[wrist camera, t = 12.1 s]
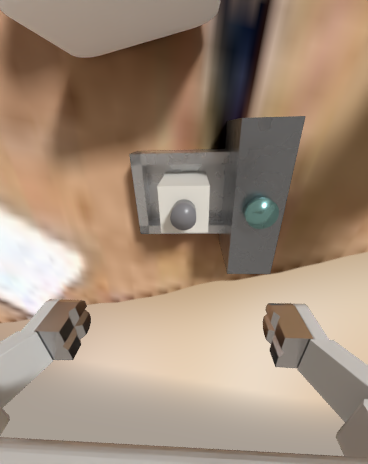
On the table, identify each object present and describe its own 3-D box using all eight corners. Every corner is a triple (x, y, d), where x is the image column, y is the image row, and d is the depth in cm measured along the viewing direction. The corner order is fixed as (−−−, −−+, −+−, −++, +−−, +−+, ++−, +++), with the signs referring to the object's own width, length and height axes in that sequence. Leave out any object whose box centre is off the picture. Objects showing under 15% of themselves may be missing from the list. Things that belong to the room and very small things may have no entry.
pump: (205, 171, 25) (211, 191, 17) (204, 208, 27) (209, 242, 19) (165, 172, 25) (153, 192, 17) (168, 209, 27) (158, 242, 19)
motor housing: (270, 119, 23) (313, 115, 15) (251, 239, 30) (273, 280, 22) (133, 123, 24) (103, 121, 15) (148, 240, 31) (132, 280, 23)
